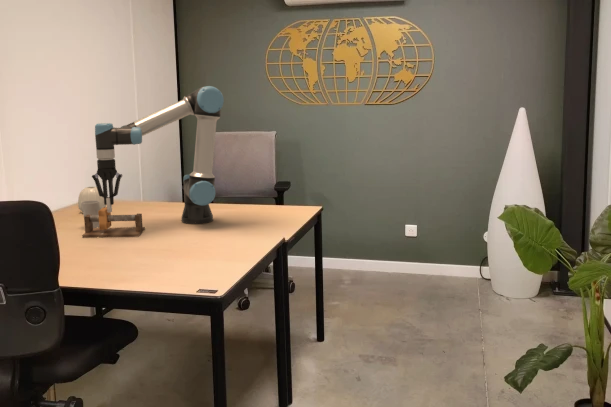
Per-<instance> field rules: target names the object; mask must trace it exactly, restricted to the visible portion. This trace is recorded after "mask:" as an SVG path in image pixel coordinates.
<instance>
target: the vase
mask: <svg viewBox="0 0 611 407" xmlns="http://www.w3.org/2000/svg"><path fill="white" fill-rule="evenodd" d="M91 200H96V201H99V210H100V209H102V208H103V207H107V205H105V204H104V198H103V197H101V196H99V193H98V190H97V187H96V186H87V187H84V188H83V189H81V191H80V192H79V194H78V201H77V206H78V209H79V210H80V211H81V212H82V213H83V209H82V204H81V202H83V201H91Z"/></svg>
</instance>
